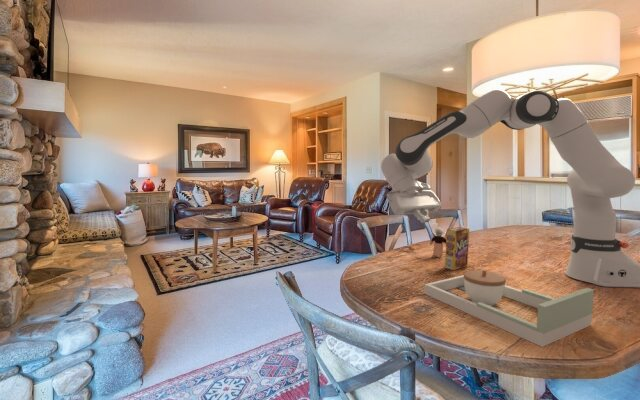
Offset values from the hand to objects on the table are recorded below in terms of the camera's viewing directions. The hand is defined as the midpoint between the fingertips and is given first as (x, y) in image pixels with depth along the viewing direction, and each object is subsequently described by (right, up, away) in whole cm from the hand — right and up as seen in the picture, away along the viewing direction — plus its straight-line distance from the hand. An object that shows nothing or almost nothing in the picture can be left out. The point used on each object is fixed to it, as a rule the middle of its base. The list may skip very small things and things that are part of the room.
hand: (426, 221), depth 113 cm
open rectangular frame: (+17, -20, -30) cm, 40 cm away
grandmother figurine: (+14, -17, +29) cm, 36 cm away
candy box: (+16, -19, +14) cm, 29 cm away
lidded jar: (+11, -22, -18) cm, 30 cm away
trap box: (+12, -22, -21) cm, 33 cm away
